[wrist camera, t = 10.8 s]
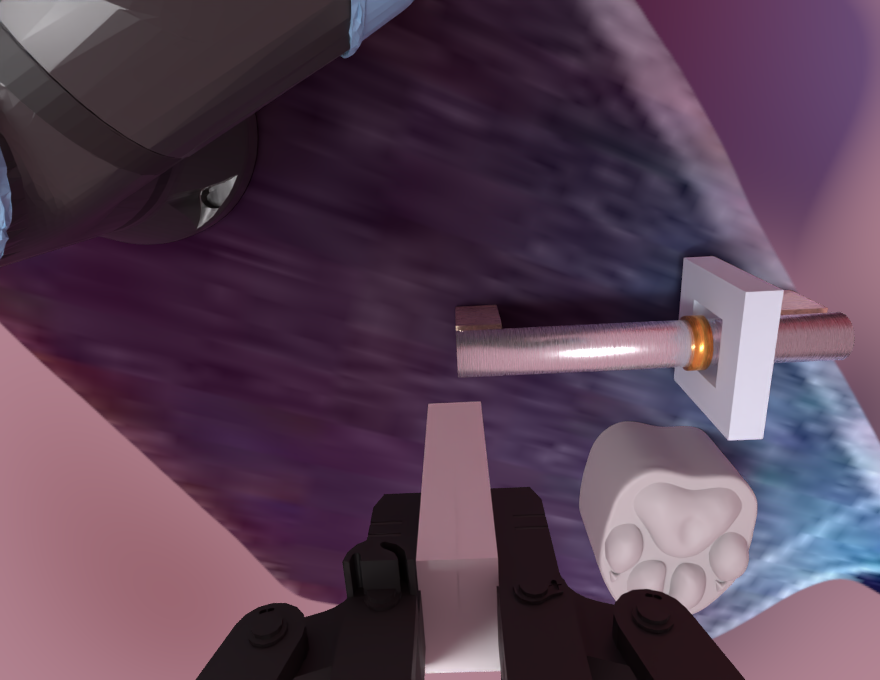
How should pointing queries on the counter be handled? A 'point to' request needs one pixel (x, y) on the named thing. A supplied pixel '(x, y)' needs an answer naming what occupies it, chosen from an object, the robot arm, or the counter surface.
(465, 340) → the pipe rig
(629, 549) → the lumpy-topped squat cylinder
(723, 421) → the white square holed plate
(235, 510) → the counter surface
